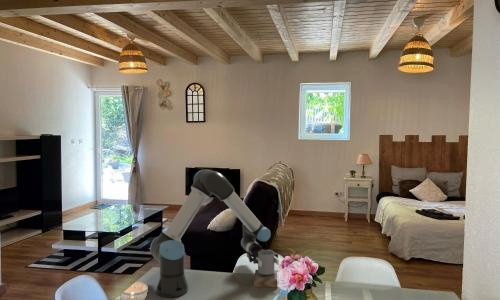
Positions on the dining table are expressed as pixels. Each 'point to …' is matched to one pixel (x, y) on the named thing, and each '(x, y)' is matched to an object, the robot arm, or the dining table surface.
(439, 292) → the dining table surface
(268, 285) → the plinth
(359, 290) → the dining table surface
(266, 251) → the cup
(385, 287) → the dining table surface
